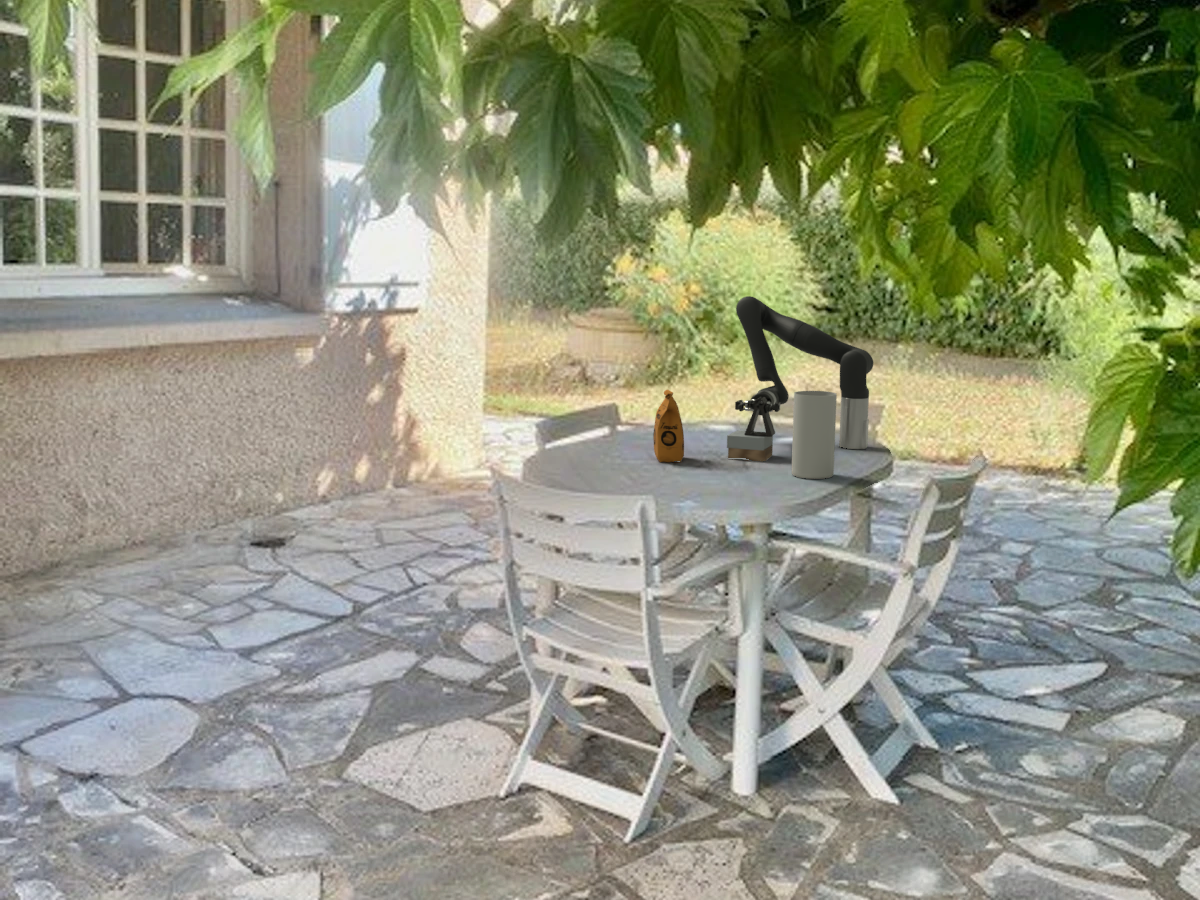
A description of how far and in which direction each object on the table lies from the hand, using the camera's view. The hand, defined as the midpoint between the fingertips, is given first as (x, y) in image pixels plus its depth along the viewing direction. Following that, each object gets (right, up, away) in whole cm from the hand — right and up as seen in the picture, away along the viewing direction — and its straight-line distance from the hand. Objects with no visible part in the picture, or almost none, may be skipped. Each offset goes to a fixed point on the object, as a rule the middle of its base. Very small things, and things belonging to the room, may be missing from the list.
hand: (753, 408), depth 403 cm
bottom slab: (0, -16, +5) cm, 17 cm away
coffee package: (-27, -16, 0) cm, 32 cm away
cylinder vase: (+15, -21, -25) cm, 36 cm away
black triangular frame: (+2, -8, +3) cm, 9 cm away
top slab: (-1, -12, +5) cm, 13 cm away
